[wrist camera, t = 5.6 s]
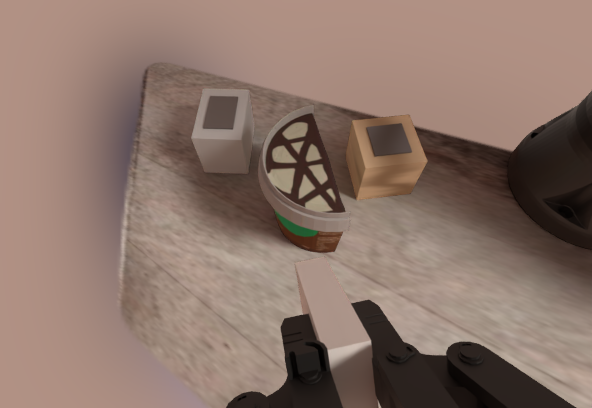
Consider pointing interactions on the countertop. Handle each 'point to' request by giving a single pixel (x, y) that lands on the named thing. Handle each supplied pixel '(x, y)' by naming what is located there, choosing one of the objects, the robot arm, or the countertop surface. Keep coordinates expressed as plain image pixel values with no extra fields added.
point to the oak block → (384, 156)
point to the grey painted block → (224, 131)
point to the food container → (302, 183)
